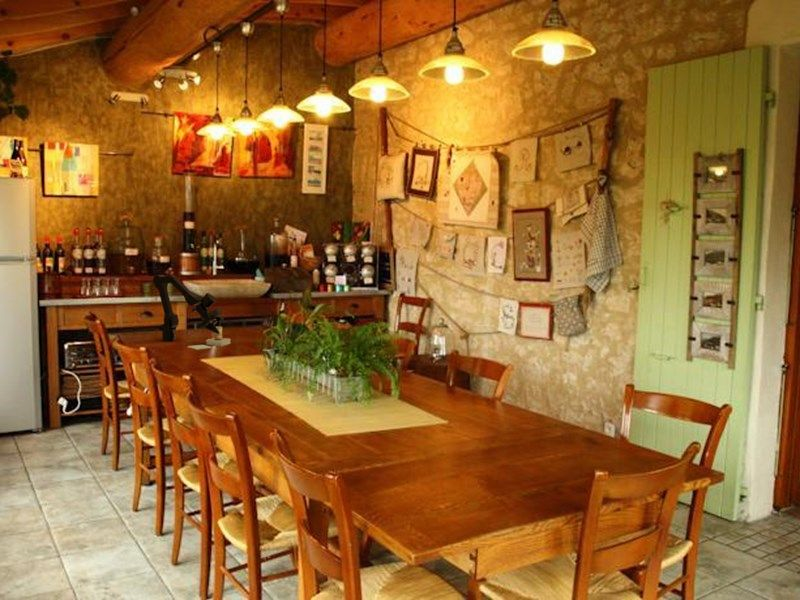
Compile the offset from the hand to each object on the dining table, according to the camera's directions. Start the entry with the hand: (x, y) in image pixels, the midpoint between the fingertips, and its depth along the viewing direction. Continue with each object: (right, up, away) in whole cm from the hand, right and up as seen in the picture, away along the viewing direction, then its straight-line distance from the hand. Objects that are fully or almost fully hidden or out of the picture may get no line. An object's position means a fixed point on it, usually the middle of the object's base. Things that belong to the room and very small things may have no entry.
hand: (220, 332), depth 456 cm
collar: (-2, -7, +1) cm, 7 cm away
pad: (-9, -8, -13) cm, 17 cm away
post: (-2, -7, +1) cm, 7 cm away
